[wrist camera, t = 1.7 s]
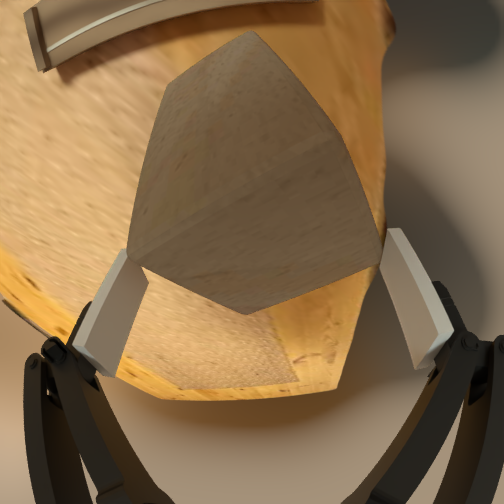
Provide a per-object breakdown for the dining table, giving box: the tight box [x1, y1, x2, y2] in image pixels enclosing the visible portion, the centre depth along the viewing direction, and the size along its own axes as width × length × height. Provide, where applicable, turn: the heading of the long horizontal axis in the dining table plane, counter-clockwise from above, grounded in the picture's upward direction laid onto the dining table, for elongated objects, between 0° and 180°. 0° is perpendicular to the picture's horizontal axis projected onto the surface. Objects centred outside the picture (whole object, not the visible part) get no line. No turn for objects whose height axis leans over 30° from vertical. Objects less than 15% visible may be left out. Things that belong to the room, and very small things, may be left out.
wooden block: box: [126, 31, 383, 315], centre depth 19 cm, size 10×10×20 cm
